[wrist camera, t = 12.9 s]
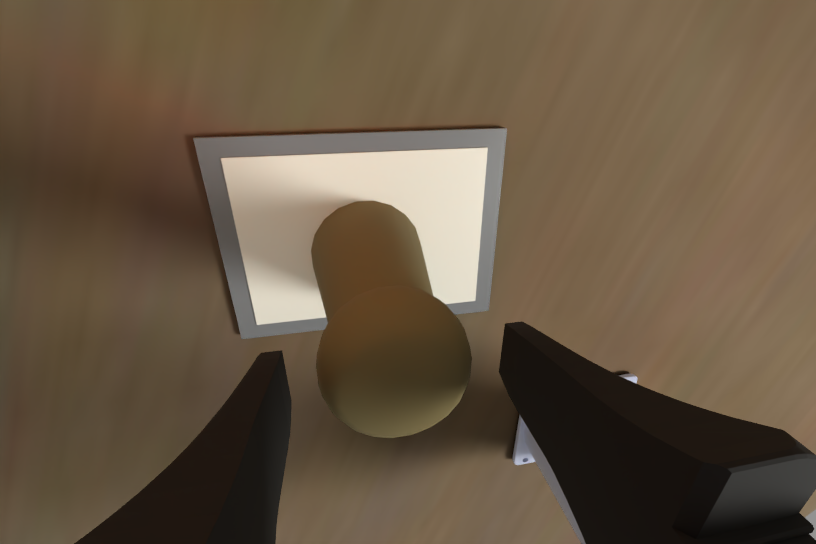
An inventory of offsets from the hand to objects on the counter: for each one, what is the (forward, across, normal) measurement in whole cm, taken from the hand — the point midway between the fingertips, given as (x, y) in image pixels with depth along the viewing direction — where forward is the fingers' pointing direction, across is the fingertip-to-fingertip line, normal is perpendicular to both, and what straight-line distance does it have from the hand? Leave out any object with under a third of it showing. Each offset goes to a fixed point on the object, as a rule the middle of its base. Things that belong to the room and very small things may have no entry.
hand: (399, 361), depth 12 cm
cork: (+10, 0, 0) cm, 10 cm away
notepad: (+10, 0, 0) cm, 10 cm away
